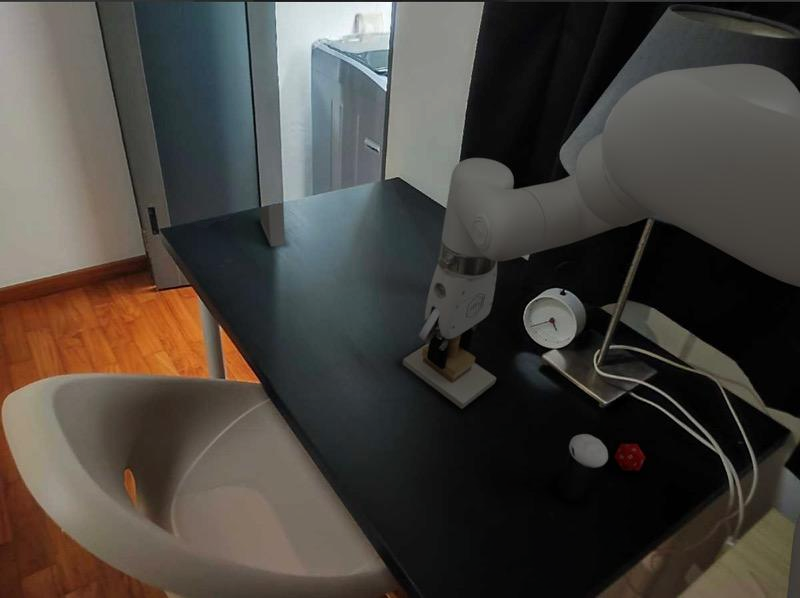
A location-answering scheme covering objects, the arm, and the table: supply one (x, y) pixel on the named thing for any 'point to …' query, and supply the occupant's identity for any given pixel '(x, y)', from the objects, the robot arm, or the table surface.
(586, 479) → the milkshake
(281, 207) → the gravestone
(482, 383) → the tile
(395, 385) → the table surface
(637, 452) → the die
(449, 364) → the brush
